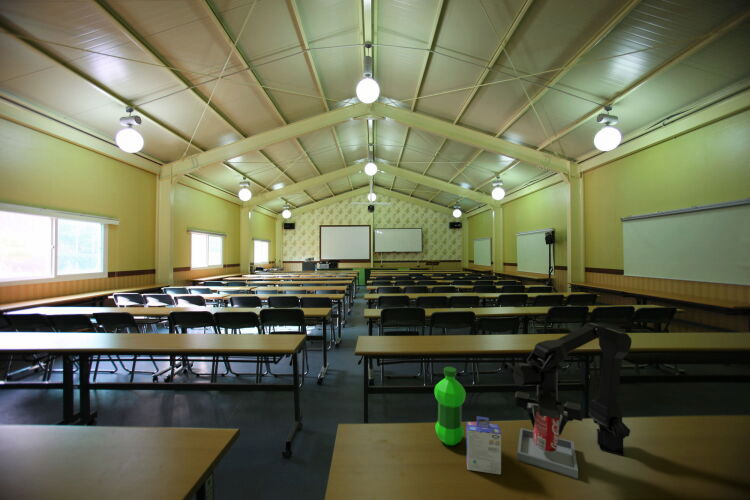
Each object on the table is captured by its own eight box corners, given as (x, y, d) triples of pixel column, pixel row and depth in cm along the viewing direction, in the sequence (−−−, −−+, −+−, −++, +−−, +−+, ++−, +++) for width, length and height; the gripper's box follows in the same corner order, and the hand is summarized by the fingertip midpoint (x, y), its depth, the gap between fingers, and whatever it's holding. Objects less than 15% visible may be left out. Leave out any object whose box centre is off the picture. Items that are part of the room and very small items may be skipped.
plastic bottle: (430, 444, 103) (430, 371, 103) (440, 428, 112) (441, 361, 112) (459, 454, 98) (460, 378, 98) (468, 437, 107) (468, 367, 107)
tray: (573, 449, 101) (573, 441, 101) (578, 479, 88) (578, 470, 88) (520, 434, 109) (520, 427, 109) (517, 460, 96) (517, 452, 96)
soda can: (555, 443, 100) (558, 408, 100) (558, 457, 94) (561, 419, 93) (532, 436, 103) (534, 402, 103) (533, 449, 97) (536, 413, 96)
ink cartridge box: (498, 462, 95) (498, 416, 95) (502, 475, 89) (502, 427, 89) (465, 458, 97) (466, 413, 97) (467, 470, 91) (467, 423, 91)
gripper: (513, 387, 96) (513, 436, 96) (584, 401, 87) (584, 455, 87) (516, 374, 105) (515, 418, 106) (580, 385, 96) (580, 434, 96)
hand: (546, 431), depth 98 cm, fingers closed on soda can, 7 cm apart
